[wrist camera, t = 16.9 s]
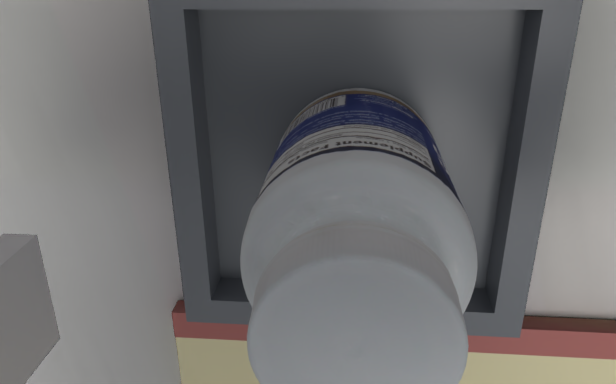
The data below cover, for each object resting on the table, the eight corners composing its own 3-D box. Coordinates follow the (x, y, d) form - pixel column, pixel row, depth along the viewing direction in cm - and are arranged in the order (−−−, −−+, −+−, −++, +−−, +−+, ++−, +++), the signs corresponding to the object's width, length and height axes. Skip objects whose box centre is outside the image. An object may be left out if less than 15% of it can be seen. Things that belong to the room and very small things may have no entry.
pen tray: (200, 290, 22) (186, 321, 20) (167, -30, 17) (144, -29, 15) (505, 304, 21) (519, 337, 19) (562, -32, 16) (588, -31, 14)
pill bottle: (418, 241, 20) (470, 482, 11) (272, 219, 20) (201, 439, 11) (453, 96, 17) (554, 246, 8) (288, 72, 17) (215, 195, 9)
